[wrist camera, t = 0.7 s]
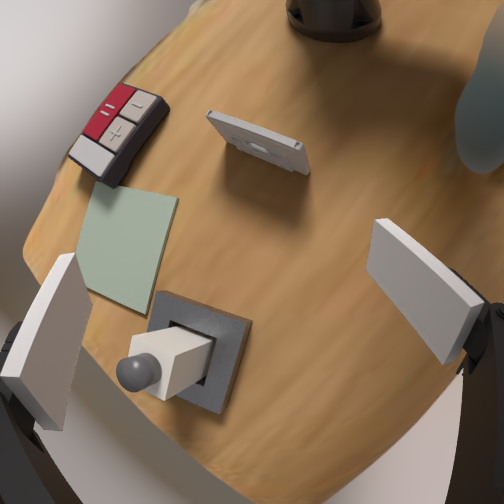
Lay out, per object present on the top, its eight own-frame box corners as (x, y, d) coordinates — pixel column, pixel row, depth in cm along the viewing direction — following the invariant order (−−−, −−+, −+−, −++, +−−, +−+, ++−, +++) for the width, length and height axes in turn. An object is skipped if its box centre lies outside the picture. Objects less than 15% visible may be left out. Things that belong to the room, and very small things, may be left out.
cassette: (224, 145, 40) (201, 118, 33) (231, 133, 40) (209, 105, 33) (306, 179, 37) (298, 154, 30) (312, 166, 37) (306, 139, 30)
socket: (166, 290, 40) (156, 290, 38) (252, 320, 37) (246, 322, 35) (147, 372, 40) (137, 376, 38) (226, 407, 37) (219, 414, 34)
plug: (182, 324, 39) (113, 339, 26) (218, 338, 38) (158, 362, 24) (174, 359, 39) (105, 386, 26) (208, 374, 38) (148, 410, 24)
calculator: (161, 94, 40) (97, 180, 39) (173, 109, 44) (114, 190, 43) (118, 79, 43) (63, 154, 42) (131, 93, 47) (79, 164, 46)
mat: (98, 182, 46) (95, 181, 45) (179, 198, 41) (177, 197, 41) (72, 278, 45) (69, 278, 45) (147, 314, 41) (145, 314, 40)
